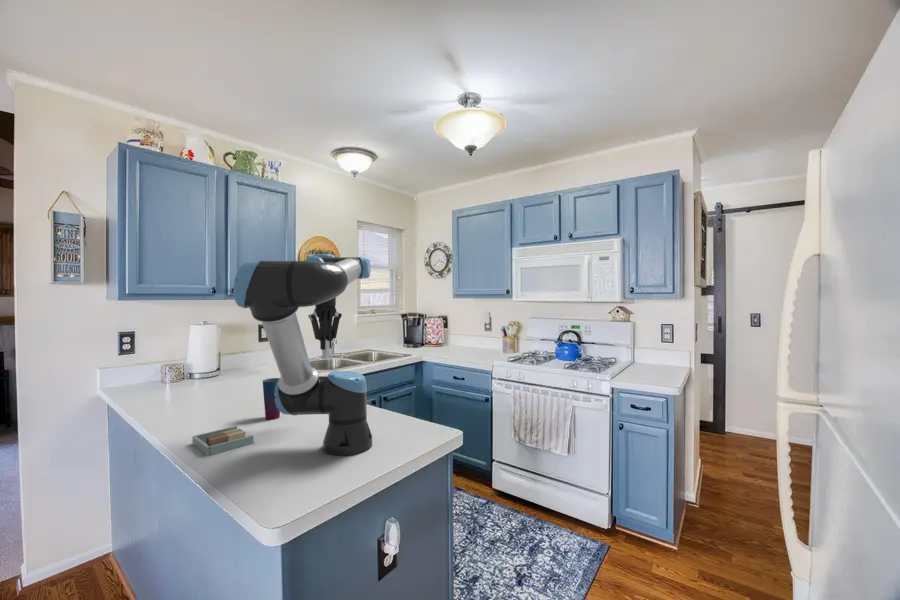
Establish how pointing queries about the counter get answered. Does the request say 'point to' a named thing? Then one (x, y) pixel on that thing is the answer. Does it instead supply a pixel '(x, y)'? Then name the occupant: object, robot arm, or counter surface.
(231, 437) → the oak tile
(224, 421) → the counter surface
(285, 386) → the robot arm
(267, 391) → the cup
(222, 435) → the walnut tile
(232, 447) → the box
